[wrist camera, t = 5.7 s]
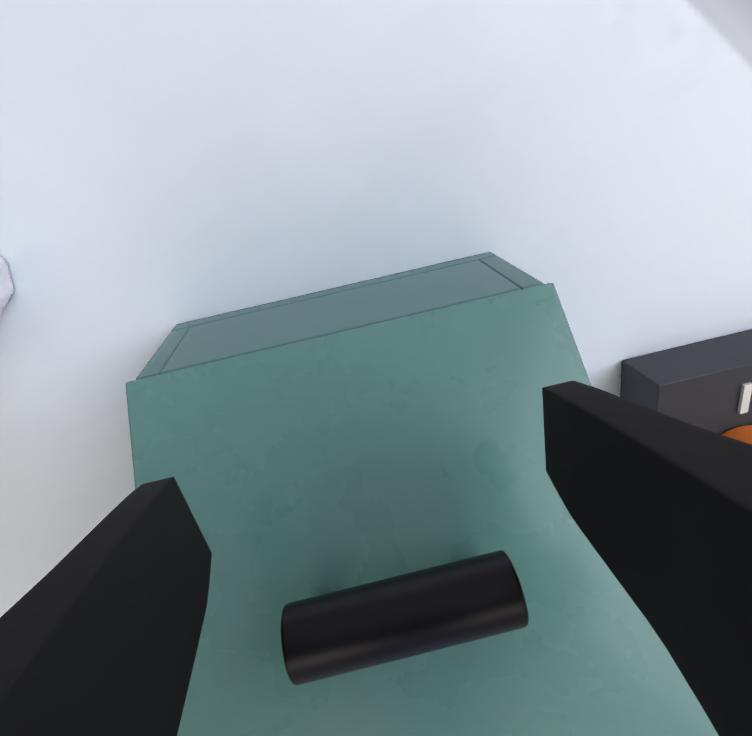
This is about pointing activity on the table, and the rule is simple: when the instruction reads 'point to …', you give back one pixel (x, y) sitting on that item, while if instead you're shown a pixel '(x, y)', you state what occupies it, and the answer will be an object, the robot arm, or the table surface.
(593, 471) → the robot arm
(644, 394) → the thermostat box
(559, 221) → the table surface
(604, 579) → the lid
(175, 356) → the teal hollow box
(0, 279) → the milkshake
